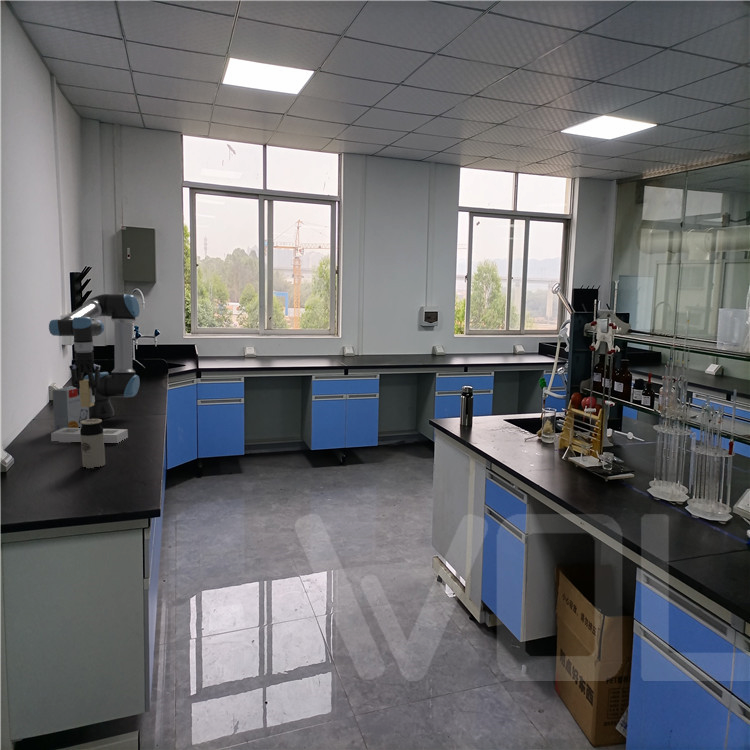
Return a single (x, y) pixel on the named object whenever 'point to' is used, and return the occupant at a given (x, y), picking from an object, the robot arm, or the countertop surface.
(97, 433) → the travel mug
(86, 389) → the wooden block
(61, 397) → the hard drive box
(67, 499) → the countertop surface
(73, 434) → the white compartment tray
